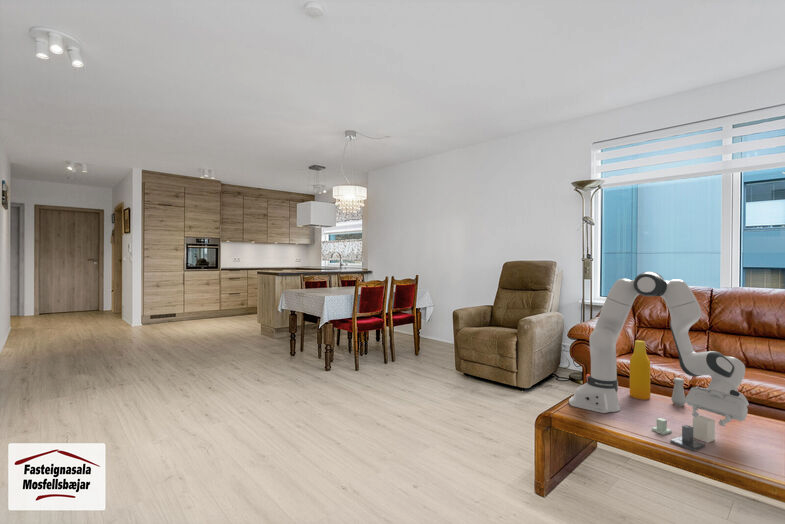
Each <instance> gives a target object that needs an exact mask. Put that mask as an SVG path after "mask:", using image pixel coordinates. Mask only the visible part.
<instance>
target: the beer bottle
mask: <svg viewBox="0 0 785 524" xmlns="http://www.w3.org/2000/svg"><path fill="white" fill-rule="evenodd" d="M629 395H630V397H631V398H634V399H637V400H643V401H644V400H650V399H651V359H650V358H649V356H648V354H647V349H646V342H645V340H639V339H638V340H637V339H636V340H635V342H634V349H633V353H632V355H631V357H630V359H629Z"/></svg>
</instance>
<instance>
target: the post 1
mask: <svg viewBox="0 0 785 524" xmlns="http://www.w3.org/2000/svg"><path fill="white" fill-rule="evenodd" d="M651 431H653V432H655V431H656V433H658V432H659V434H661V435H663V436H665V434H666V435H669V434H671V433H672V429H670V428H668V420H667V419H665V418H662V417H659V418H656V426H653V427H651Z"/></svg>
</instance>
